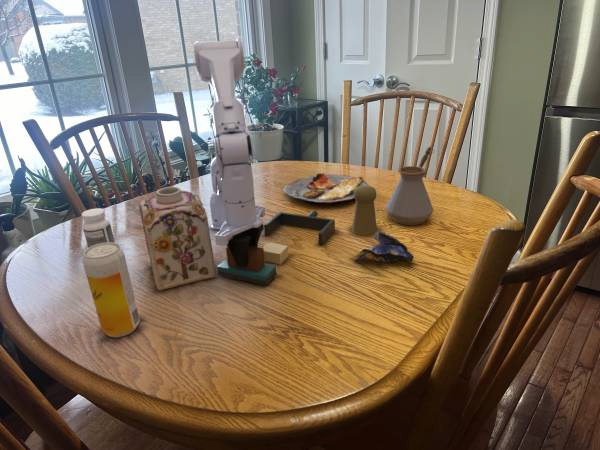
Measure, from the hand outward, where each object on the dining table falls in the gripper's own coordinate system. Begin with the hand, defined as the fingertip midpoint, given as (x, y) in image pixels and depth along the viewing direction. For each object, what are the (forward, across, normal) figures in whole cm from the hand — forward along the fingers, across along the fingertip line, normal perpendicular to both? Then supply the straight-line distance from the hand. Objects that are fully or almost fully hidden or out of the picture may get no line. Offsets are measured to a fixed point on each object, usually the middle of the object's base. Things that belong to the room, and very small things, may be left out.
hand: (246, 262), depth 86 cm
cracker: (+3, +9, -1) cm, 10 cm away
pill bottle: (+4, -2, +38) cm, 38 cm away
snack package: (+4, +17, -23) cm, 29 cm away
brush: (+3, 0, 0) cm, 3 cm away
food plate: (+4, +50, +3) cm, 50 cm away
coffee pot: (+4, +44, -24) cm, 50 cm away
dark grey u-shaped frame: (+3, +25, -1) cm, 25 cm away
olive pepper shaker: (+4, +29, -15) cm, 33 cm away
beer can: (+4, -22, +12) cm, 25 cm away
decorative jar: (+4, -3, +14) cm, 15 cm away
